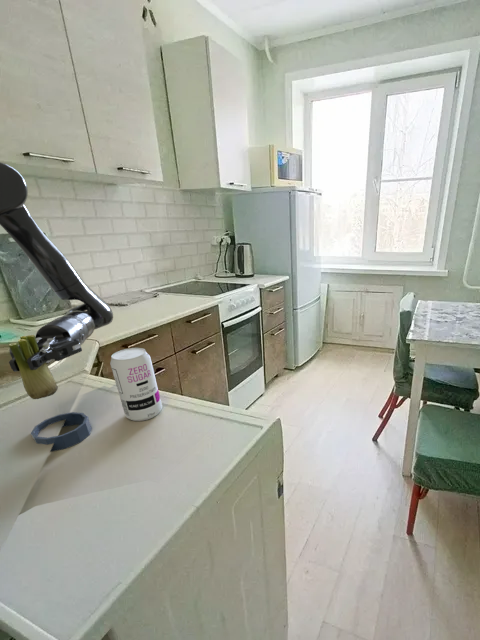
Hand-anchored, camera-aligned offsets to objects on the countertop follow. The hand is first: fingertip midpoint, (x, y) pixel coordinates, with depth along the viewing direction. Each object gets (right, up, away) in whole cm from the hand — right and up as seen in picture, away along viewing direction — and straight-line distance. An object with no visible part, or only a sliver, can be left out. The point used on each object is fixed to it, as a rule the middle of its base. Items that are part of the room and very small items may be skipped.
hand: (22, 365), depth 63 cm
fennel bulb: (0, -6, +6) cm, 8 cm away
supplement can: (+14, -10, +20) cm, 26 cm away
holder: (0, -15, +12) cm, 19 cm away
